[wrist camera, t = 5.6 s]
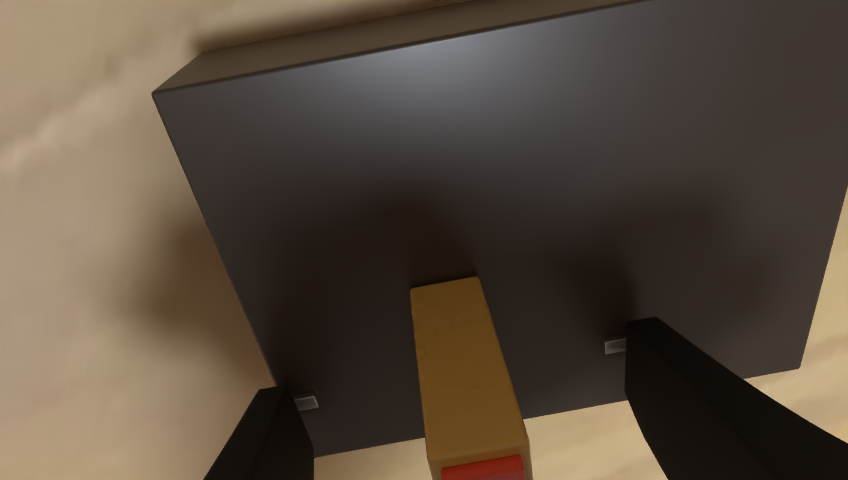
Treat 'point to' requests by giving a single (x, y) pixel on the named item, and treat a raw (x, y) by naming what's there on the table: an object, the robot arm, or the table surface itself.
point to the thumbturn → (466, 387)
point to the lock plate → (520, 190)
